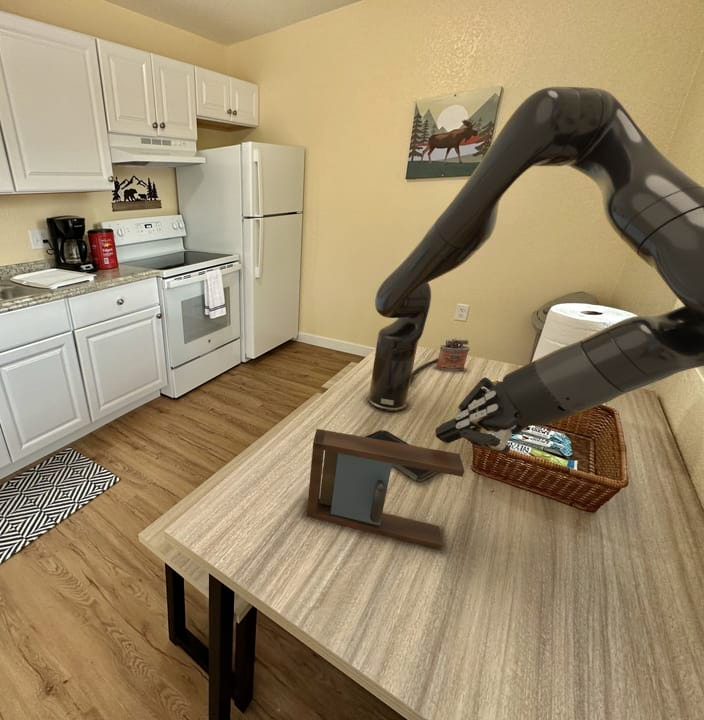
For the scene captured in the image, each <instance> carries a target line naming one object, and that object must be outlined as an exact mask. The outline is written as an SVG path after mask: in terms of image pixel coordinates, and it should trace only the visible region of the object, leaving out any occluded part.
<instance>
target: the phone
mask: <svg viewBox="0 0 704 720" xmlns="http://www.w3.org/2000/svg"><path fill="white" fill-rule="evenodd" d="M365 437H367V438H373V439H378V440H384V441H390V442H395V443H401V444H407V445H411V444H409V443H408V442H406V441H404V440H403V439H402V438H400V437H398V436H396V435H395V434H393V433H391V432H389V431H388V430H386V429H380V430H378V431H376V432H372V433H371V434H368V435H366V436H365ZM392 467H394V468H395V469H397V470H398V471H399V472H401V473H402V474H404V475H406V476H407V477H408V478H410V479H411V480H413V481H415V482H418V483H421V482H423V481H425V480H427V479H429V478H431V477H433V476H435V475H436V474H438V473H439V472H435V471H429V470H424V469H419V468H414V467H409V466H403V465H398V464H393V463H392Z"/></svg>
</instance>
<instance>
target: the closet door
mask: <svg viewBox="0 0 704 720" xmlns="http://www.w3.org/2000/svg"><path fill="white" fill-rule="evenodd" d="M392 468H393V466H392V463H388V462H383V461H378V460H372V459H367V458H362V457H357V456H352V455H346V454H341V453H338V457H337V465H336V474H335V482H334V490H333V498H332V506H331V514H333V515H338V516H342V517H346V518H350V519H354V520H358V521H362V522H366V523H370V524H375V525H379V526H380V524H381V518H382V513H384V508H385V503H386V498H387V493H388V487H389V483H390V477H391V472H392Z"/></svg>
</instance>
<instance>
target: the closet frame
mask: <svg viewBox="0 0 704 720" xmlns="http://www.w3.org/2000/svg"><path fill="white" fill-rule="evenodd" d="M311 451H312V452H311V462H310V473H309V485H308V497H307V506H306V507H307V509H306V518H310V519H314V520H318V521H322V522H325V523H330V524H334V525H337V526H342V527H346V528H349V529H354V530H358V531H362V532H366V533H369V534H374V535H377V536H382V537H384V538H385V537H386V538H389V539H394V540H397V541H402V542H404V543H405V542H406V543H410V544H413V545H418V546H422V547H426V548H430V549H433V550H437V551H442V549H443V546H444V545H443V540H442V534H441V529H440V528H441V527H440V525H436V524H432V523H427V522H424V521H418V520H415V519H410V518H406V517H402V516H397V515H393V514H389V513H386V512H385V513H384V512H383V513H382V518H381V524H380V526H379V525H375V524H370V523H366V522H362V521H358V520H354V519H350V518H346V517H342V516H338V515H333V514H331V506H332V498H333V490H334V482H335V474H336V465H337V457H338V453H341V454H346V455H352V456H357V457H362V458H367V459H372V460H378V461H383V462H388V463H393V464H398V465H403V466H409V467H414V468H419V469H424V470H429V471H435V472H438V473H441V474H445V475H450V476H456V477H462V478H463V477H464V475H465V472H466V470H465V466H464V464H463V460H462V457H461V454H460V453H457V452H452V451H445V450H440V449H436V448H435V449H434V448H429V447H423V446H417V445H413V444H412V445H411V444H410V445H407V444H401V443H395V442H390V441H384V440H378V439H373V438H367V437H366V436H361V435H355V434H349V433H343V432H337V431H332V430H326V429H321V428H316V430H315V434H314V438H313V441H312V450H311Z"/></svg>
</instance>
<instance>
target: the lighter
mask: <svg viewBox="0 0 704 720" xmlns="http://www.w3.org/2000/svg"><path fill="white" fill-rule="evenodd" d="M469 343H470V341H469V340H468V339H458V338H452V339H446V340H445V344H440V346H439V349H440V350H439V355H438V357H437V358H438V362H436V364H435V369H436V370H438V371H443V372H452V373H453V372H457V373H458V372H464V371H465V366H466V361H467V358H468V353H469V352H470V347H469V346H468V345H469Z"/></svg>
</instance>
